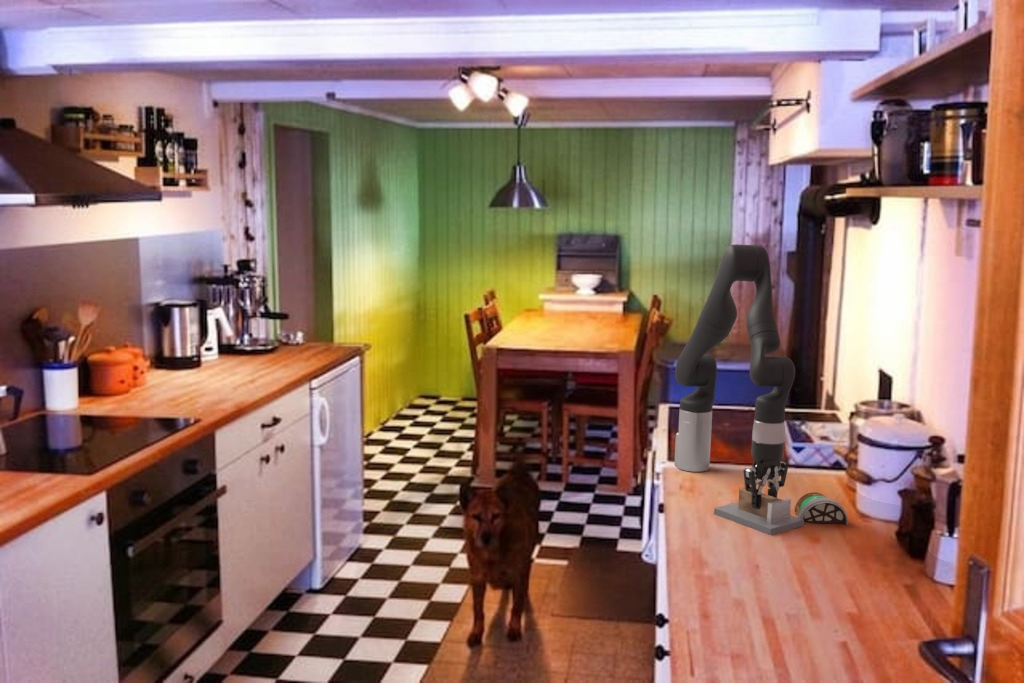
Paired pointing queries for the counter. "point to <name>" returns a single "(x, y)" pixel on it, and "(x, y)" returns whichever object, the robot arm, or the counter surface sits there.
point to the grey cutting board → (756, 520)
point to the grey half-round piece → (820, 509)
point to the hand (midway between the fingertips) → (763, 506)
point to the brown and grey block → (766, 506)
